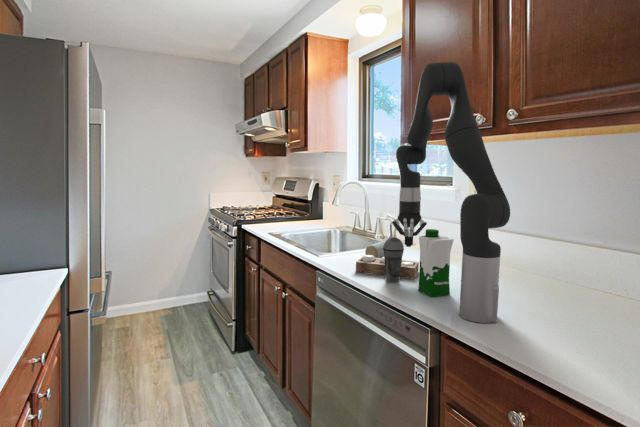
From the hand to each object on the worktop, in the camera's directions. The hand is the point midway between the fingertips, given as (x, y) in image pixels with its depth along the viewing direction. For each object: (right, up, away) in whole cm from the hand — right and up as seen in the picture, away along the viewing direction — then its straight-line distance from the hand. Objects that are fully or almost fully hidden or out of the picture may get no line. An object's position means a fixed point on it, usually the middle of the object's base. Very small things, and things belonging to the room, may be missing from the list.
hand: (408, 246), depth 143 cm
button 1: (-14, -7, +7) cm, 17 cm away
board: (-7, -10, +4) cm, 13 cm away
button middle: (-7, -8, +4) cm, 11 cm away
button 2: (0, -9, +1) cm, 10 cm away
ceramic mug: (-8, -8, +22) cm, 25 cm away
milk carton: (+3, -13, -19) cm, 24 cm away
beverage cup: (-7, -12, -7) cm, 16 cm away
